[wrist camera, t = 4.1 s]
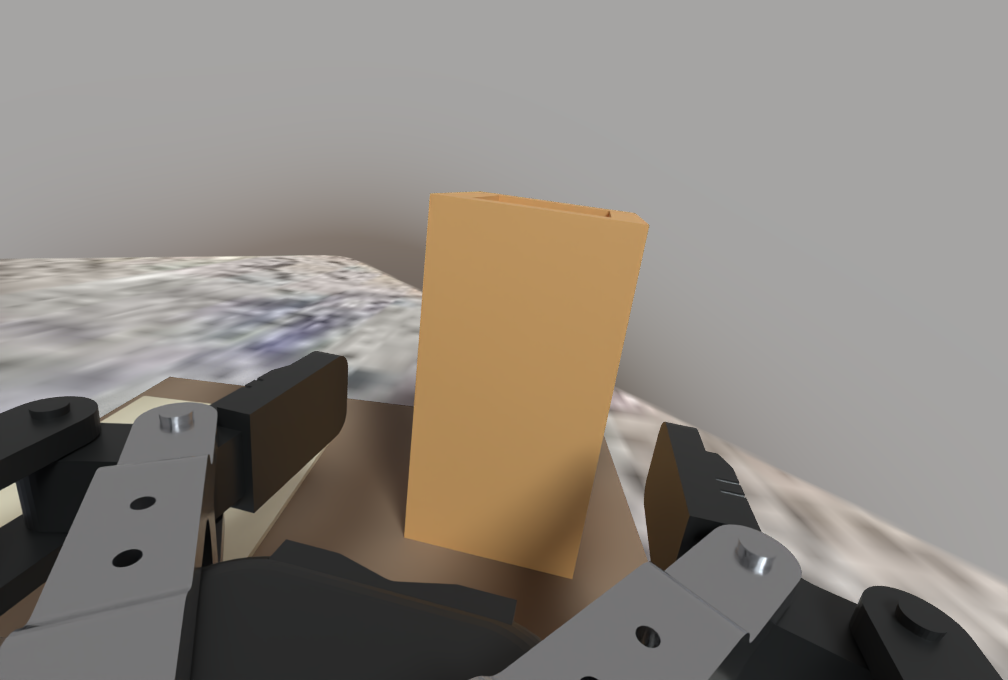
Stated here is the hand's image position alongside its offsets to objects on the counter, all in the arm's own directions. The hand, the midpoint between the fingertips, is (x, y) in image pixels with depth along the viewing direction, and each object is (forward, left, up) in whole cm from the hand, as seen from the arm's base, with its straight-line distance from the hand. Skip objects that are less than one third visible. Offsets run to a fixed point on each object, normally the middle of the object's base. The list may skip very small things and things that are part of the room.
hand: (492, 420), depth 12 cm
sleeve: (+1, +5, -6) cm, 7 cm away
